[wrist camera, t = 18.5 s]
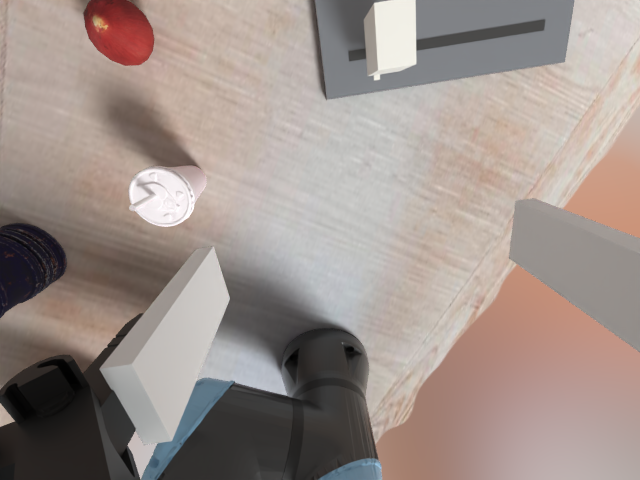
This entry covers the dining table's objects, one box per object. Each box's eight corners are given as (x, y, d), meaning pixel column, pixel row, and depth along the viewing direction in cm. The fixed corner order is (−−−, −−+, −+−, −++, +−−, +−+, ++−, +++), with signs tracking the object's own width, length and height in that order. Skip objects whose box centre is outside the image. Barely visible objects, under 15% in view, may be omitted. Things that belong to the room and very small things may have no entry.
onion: (103, 42, 34) (45, 22, 26) (128, -6, 32) (74, -40, 25) (150, 81, 35) (109, 72, 28) (176, 37, 34) (140, 17, 26)
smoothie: (179, 144, 38) (115, 161, 25) (225, 172, 40) (186, 201, 27) (159, 186, 40) (90, 221, 27) (204, 211, 42) (158, 255, 29)
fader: (392, 74, 34) (416, 64, 27) (362, 79, 34) (378, 70, 27) (390, 22, 32) (415, -4, 25) (358, 27, 33) (374, 2, 25)
